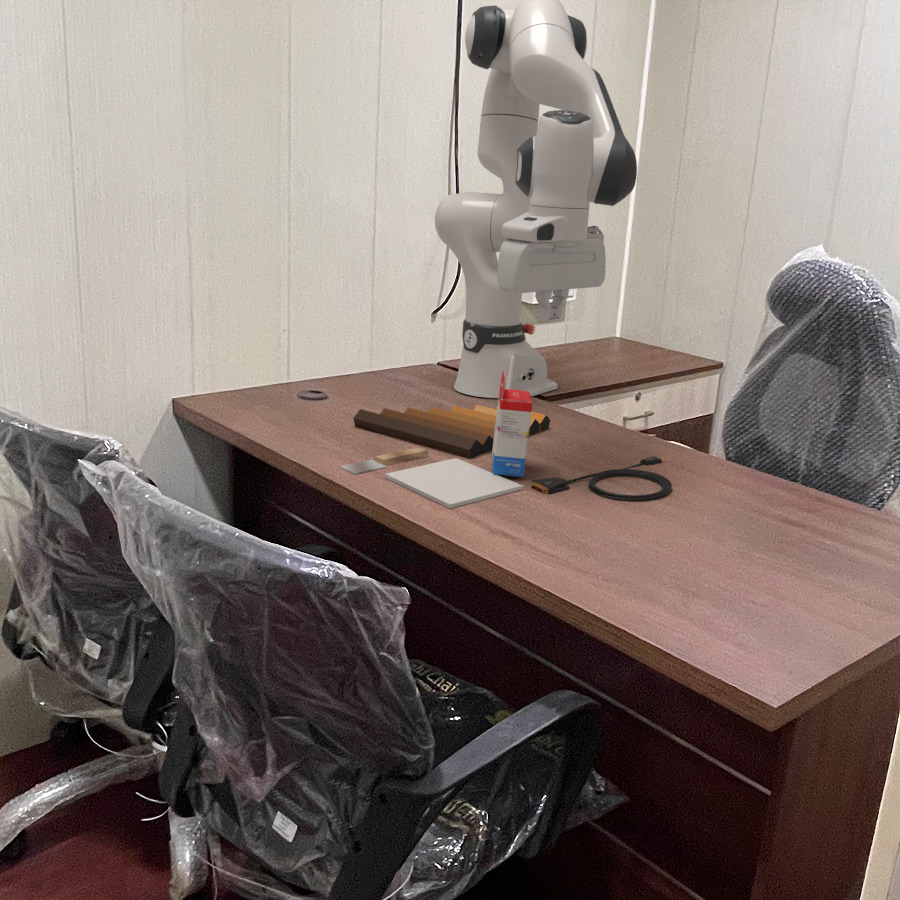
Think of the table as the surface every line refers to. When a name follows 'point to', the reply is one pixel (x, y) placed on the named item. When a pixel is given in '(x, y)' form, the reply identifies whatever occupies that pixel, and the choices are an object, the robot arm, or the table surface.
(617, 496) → the cable
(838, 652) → the table surface
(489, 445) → the pan flute
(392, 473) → the mat
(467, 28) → the robot arm
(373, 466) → the turner
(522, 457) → the ink box
